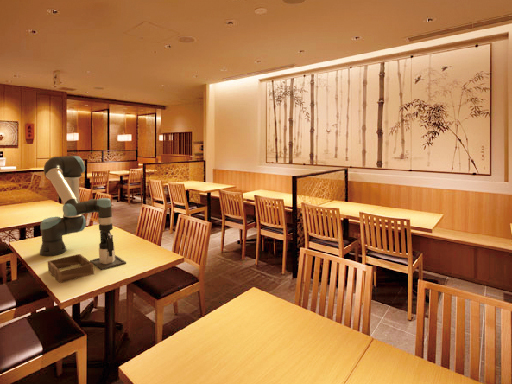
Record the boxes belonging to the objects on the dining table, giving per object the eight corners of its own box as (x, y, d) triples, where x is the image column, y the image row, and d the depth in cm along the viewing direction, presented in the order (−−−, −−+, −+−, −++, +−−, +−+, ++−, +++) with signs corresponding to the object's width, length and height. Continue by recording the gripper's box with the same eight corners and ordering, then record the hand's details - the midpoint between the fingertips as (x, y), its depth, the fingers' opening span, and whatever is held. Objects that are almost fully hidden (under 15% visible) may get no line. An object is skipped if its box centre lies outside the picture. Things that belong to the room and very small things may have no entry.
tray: (90, 262, 204) (89, 260, 204) (114, 256, 214) (114, 254, 214) (101, 270, 191) (100, 268, 191) (126, 263, 202) (126, 261, 202)
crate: (48, 270, 190) (47, 261, 189) (80, 263, 202) (79, 253, 201) (59, 283, 174) (58, 272, 173) (93, 273, 186) (93, 263, 185)
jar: (100, 265, 198) (99, 246, 195) (98, 260, 204) (97, 242, 202) (116, 262, 202) (115, 243, 200) (114, 258, 209) (113, 240, 207)
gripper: (93, 221, 203) (95, 256, 207) (105, 227, 189) (108, 265, 193) (105, 219, 208) (107, 253, 212) (118, 225, 194) (120, 262, 198)
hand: (107, 259), depth 202 cm, fingers closed on jar, 7 cm apart
